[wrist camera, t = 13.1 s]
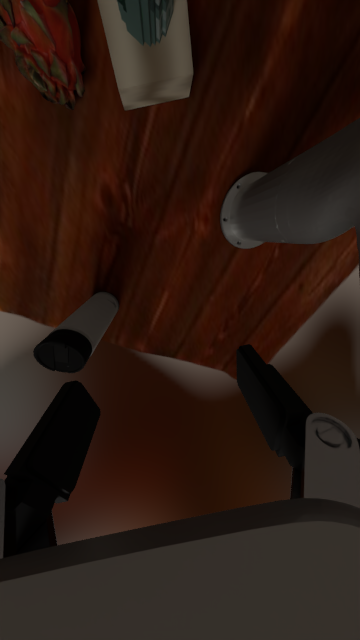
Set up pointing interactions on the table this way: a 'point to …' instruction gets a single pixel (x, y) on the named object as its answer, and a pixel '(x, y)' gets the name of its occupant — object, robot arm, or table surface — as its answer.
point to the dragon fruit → (45, 46)
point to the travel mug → (77, 335)
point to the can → (146, 18)
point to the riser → (149, 58)
